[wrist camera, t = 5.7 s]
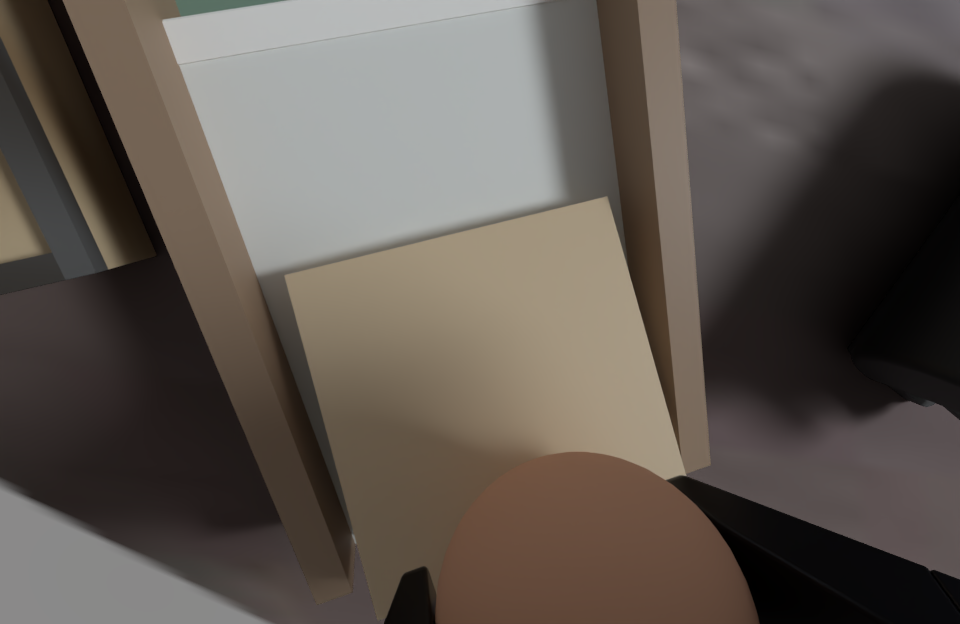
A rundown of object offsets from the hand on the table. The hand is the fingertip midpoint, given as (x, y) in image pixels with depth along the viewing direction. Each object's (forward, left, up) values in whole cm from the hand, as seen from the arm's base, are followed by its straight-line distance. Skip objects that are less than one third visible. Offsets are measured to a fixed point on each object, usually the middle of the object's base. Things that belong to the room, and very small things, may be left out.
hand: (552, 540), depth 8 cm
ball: (0, 0, +1) cm, 1 cm away
